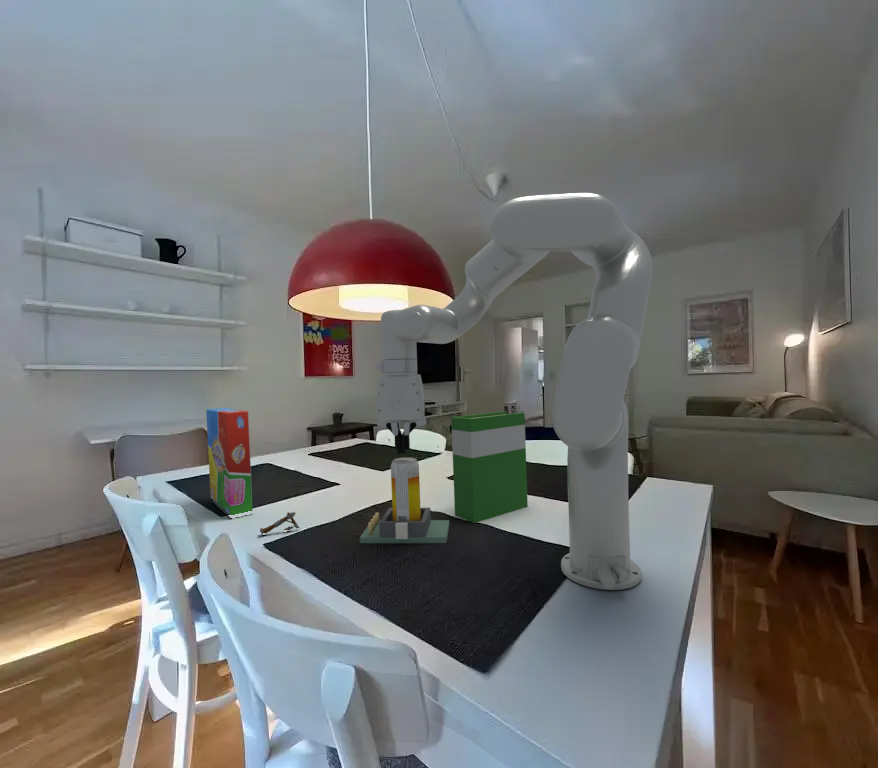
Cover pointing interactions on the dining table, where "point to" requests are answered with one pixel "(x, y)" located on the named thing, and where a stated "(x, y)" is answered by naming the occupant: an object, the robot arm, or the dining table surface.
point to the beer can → (405, 489)
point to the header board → (405, 529)
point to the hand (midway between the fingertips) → (402, 452)
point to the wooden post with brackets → (279, 522)
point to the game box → (229, 459)
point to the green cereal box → (489, 465)
